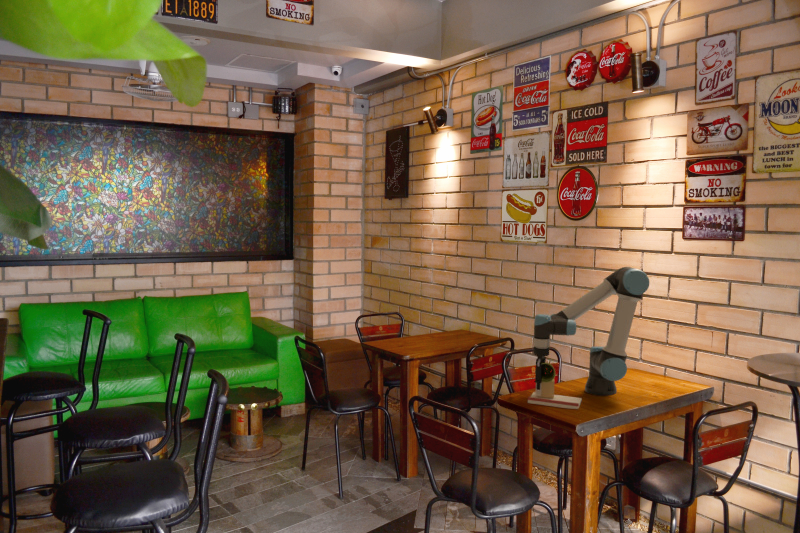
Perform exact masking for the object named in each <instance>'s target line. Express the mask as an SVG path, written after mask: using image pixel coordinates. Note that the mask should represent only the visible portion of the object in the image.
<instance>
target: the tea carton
mask: <svg viewBox="0 0 800 533" xmlns="http://www.w3.org/2000/svg"><path fill="white" fill-rule="evenodd" d="M541 383H542V393H541V396H537V397H545V398H554V395H555V378H554V379H553V380H552V381H551V382H547V383H545V382H541Z"/></svg>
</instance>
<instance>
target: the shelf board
mask: <svg viewBox="0 0 800 533" xmlns="http://www.w3.org/2000/svg"><path fill="white" fill-rule="evenodd" d="M535 393H536V391H533V392H532V394H531V395H530V396H528V397H527V404H534V405H540V406H541V405H542V406H549V407H555V408H563V409H569V410H570V409H571V410H572V409H573V410H579V408H580V406H581V403H582V400H583V399H582V397H575V396H567V395H560V394H554V398H545V397H537V396H535Z"/></svg>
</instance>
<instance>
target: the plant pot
mask: <svg viewBox="0 0 800 533" xmlns="http://www.w3.org/2000/svg"><path fill="white" fill-rule="evenodd" d="M542 364H545V367H544V372H545V373H544V375H542V380H541V381H542V382H545V383H547V382H551V381H552V380H553V379H554V380H555V378H556V374H557V373H556V370H555V368H554V365H552V364H551V363H550V362H545V363H542ZM534 374H535V375H536V369H535V371H534Z"/></svg>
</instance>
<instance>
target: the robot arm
mask: <svg viewBox="0 0 800 533" xmlns="http://www.w3.org/2000/svg"><path fill="white" fill-rule="evenodd" d="M649 287H650V278H649V276H648V275H647V273H646V272H645V271H643V270H641V269H640V268H634V267H631V266H623V267H619V268H618V269H616V270H615V271H614V272H612V273H611V274H609V275H608V276H607V277H605V278H604V279H603V281H602V282H601V283H599V284H598V285H597V286H595V287H594V288H593V289H591V290H590V291H588V292H587V293H586V294H584V295H582V296H580V297H579V298H578V299H576V300H575V301H573V302H572V303H570V304H568V306H566V307H564V308H563V309H561V310H560V311H559V312H557V313H553V314H551V315H549V314H544V313H542V314H540V313H539V314H536V315H534V322H533V339H532V342H533V347H532V354H533V355H534V356H537V358H536V359H535V370H536V375H535V379H534V382H533V383H535V392H536V393H535V396H541V393H542V383H541V382H542V381H541V380H542V375H544V373H545V372H544V367H545V364H542V363H546V360H547V357H549V356H550V344H551V336H567V337H569V336H575V335H576V333H577V323H576V321H575V320H577V319H578V318H580V317H581V316H583V315H585V314H586V313H588V312H589V311H591V310H592V309H593V308H595V307H596V306H598V305H599V304H601V303H602V302H604V301H605V300H607V299H609V298H610V297H611V296H617V297H618V299H617V303H616V307H615V310H614V315H613V318H612V322H611V325H610V330H609V334H608V338H607V342H606V345H605V346H592V347H591V348H590V350H589V365H588V366H589V368H588V369H589V370H588V372H589V373H588V378H587V379H586V383H585V385H584V391H585V392H586V393H587V394H590V395H592V396H593V395H594V396H604V397H606V396H612V395H613V396H614V395H615V394H617V392H618V391H617V386H616V383H615V382H616V381H619V380H622V379H623V378H624V377H625V376H626V374H627V372H628V367H627V362H626V361H627V357H628V354H627V352H626V348H627V343H628V340H629V337H630V332H631V328H632V325H633V320H634V317H635V312H636V308H637V305H638V302H640V301H642V299H643V296H644V293H646V292H647V291H648V289H649ZM545 374H546V373H545Z"/></svg>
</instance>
